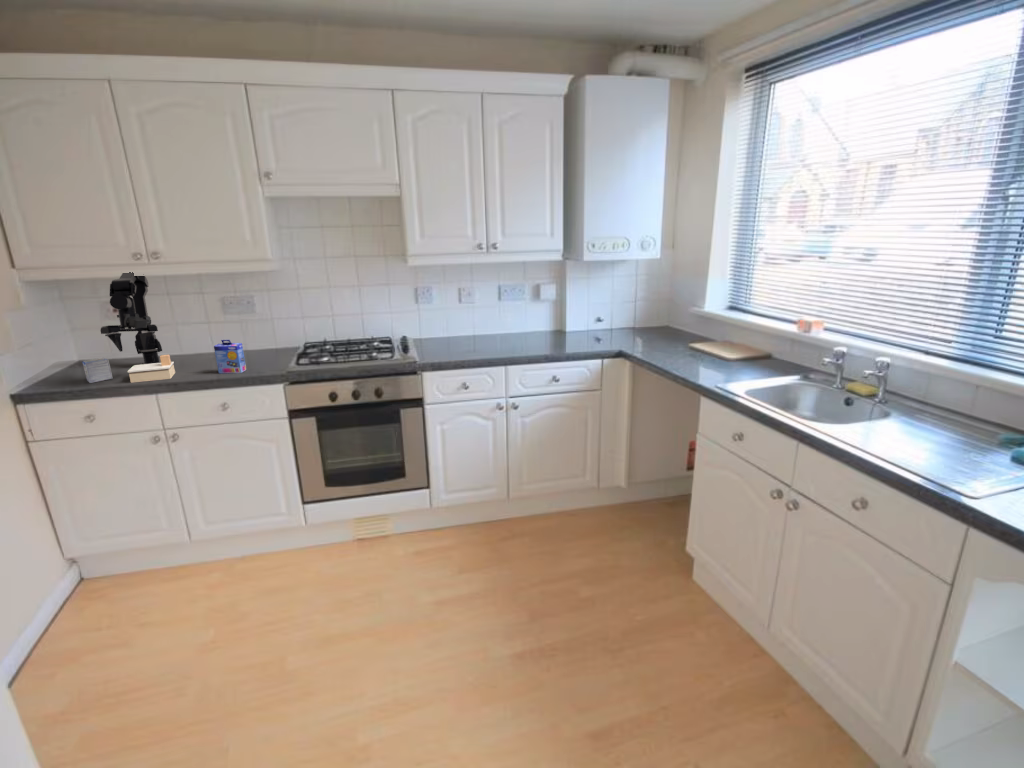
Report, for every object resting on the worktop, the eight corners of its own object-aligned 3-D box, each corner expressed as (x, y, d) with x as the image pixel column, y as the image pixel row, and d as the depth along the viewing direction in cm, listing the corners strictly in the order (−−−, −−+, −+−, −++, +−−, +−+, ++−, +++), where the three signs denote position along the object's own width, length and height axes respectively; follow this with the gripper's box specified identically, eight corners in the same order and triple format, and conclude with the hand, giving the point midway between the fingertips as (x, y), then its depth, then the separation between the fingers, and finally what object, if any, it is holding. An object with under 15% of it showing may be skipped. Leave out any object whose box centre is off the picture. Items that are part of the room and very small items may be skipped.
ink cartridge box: (217, 374, 229) (211, 340, 224) (223, 370, 234) (218, 337, 230) (241, 373, 229) (235, 340, 225) (247, 369, 234) (241, 337, 230)
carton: (137, 376, 226) (135, 367, 225) (175, 372, 231) (173, 363, 230) (130, 382, 218) (128, 373, 216) (170, 378, 222) (168, 369, 221)
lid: (134, 366, 225) (131, 355, 224) (173, 362, 230) (171, 352, 229) (127, 372, 216) (125, 361, 215) (169, 368, 221) (166, 357, 220)
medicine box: (109, 377, 226) (104, 357, 224) (113, 379, 223) (108, 358, 221) (87, 381, 220) (81, 361, 218) (90, 383, 218) (84, 362, 215)
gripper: (113, 309, 202) (120, 350, 204) (163, 309, 219) (169, 347, 221) (96, 312, 207) (103, 352, 208) (146, 312, 224) (152, 349, 225)
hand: (133, 350), depth 215 cm, fingers open, 9 cm apart
